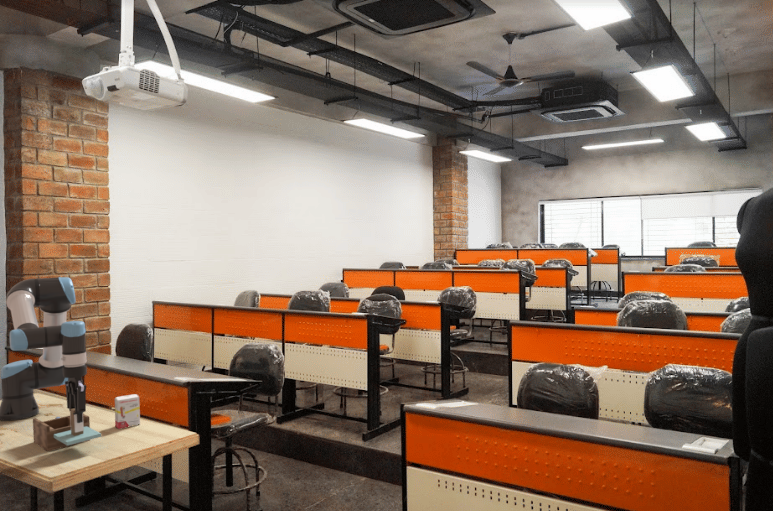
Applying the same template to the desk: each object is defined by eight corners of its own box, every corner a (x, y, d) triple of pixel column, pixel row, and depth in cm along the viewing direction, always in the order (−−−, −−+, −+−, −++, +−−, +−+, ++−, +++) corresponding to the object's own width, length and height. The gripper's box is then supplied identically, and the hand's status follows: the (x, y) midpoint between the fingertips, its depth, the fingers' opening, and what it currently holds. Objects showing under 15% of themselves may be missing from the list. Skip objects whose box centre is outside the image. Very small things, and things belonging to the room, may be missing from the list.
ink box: (117, 429, 226) (116, 400, 226) (115, 426, 230) (114, 397, 230) (140, 424, 232) (139, 396, 231) (137, 422, 236) (136, 393, 235)
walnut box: (33, 442, 214) (32, 418, 214) (74, 432, 224) (74, 409, 224) (47, 451, 204) (46, 426, 204) (90, 440, 215) (89, 416, 214)
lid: (53, 437, 204) (52, 409, 203) (86, 429, 212) (85, 402, 212) (67, 445, 195) (66, 416, 195) (101, 436, 203) (100, 408, 203)
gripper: (54, 364, 206) (57, 428, 206) (71, 369, 195) (74, 437, 195) (77, 360, 211) (79, 423, 212) (94, 365, 200) (97, 432, 201)
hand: (77, 430), depth 204 cm, fingers closed on lid, 3 cm apart
